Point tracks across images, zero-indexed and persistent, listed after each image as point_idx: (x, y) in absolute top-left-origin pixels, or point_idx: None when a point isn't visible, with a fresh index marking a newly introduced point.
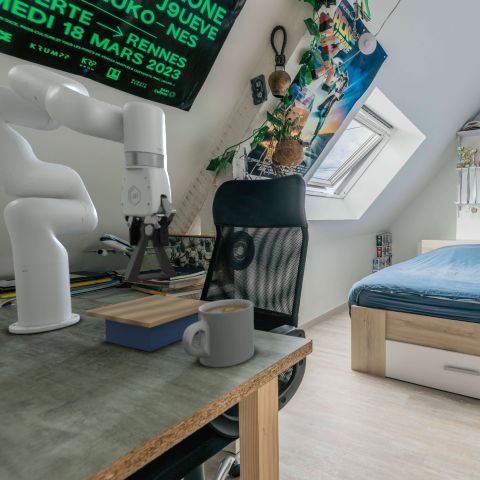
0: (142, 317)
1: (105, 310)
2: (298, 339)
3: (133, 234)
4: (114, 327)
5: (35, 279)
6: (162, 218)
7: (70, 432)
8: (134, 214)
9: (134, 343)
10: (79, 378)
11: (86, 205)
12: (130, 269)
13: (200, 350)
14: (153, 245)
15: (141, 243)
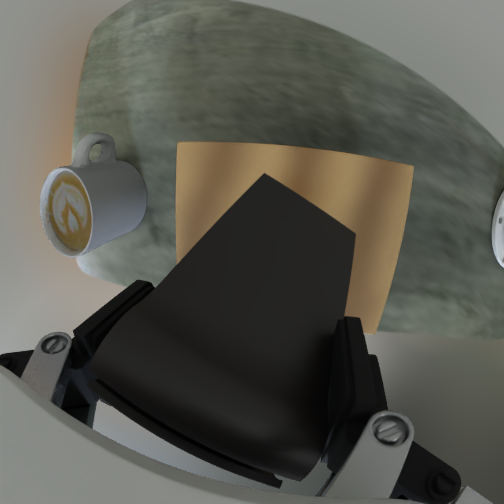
0: (224, 161)
1: (372, 181)
2: (87, 272)
3: (339, 371)
4: None
5: None
6: (3, 362)
7: (141, 23)
8: (139, 465)
9: None
10: (245, 62)
11: None
12: (269, 200)
13: (101, 151)
14: (144, 283)
15: (180, 261)
